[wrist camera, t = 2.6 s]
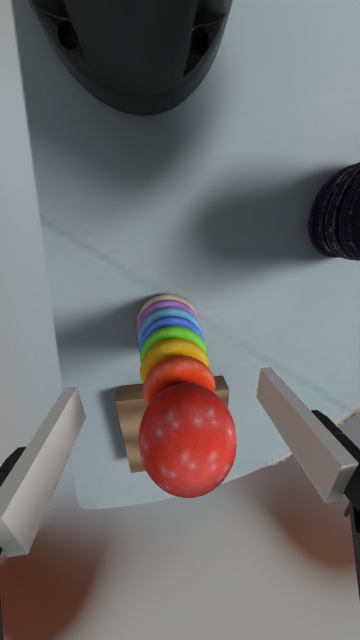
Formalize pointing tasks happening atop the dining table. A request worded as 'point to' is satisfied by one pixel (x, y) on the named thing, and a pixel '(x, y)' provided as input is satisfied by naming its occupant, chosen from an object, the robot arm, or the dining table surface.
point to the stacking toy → (181, 402)
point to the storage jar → (337, 215)
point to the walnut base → (132, 412)
